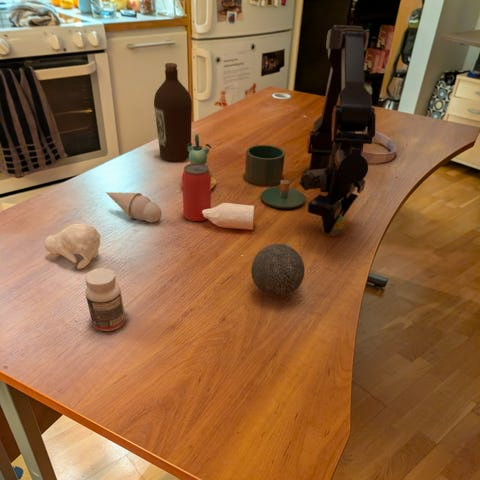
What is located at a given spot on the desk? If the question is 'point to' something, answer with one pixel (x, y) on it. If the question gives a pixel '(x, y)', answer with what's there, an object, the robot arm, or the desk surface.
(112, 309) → the pill bottle
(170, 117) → the olive oil
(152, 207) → the ice cream cone
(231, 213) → the white bottle
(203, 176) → the beer can
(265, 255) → the decorative ball
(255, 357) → the desk surface
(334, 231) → the egg
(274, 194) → the bin lid
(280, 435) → the desk surface
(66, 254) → the beige rounded piece
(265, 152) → the bin
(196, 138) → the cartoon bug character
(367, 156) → the headphones
